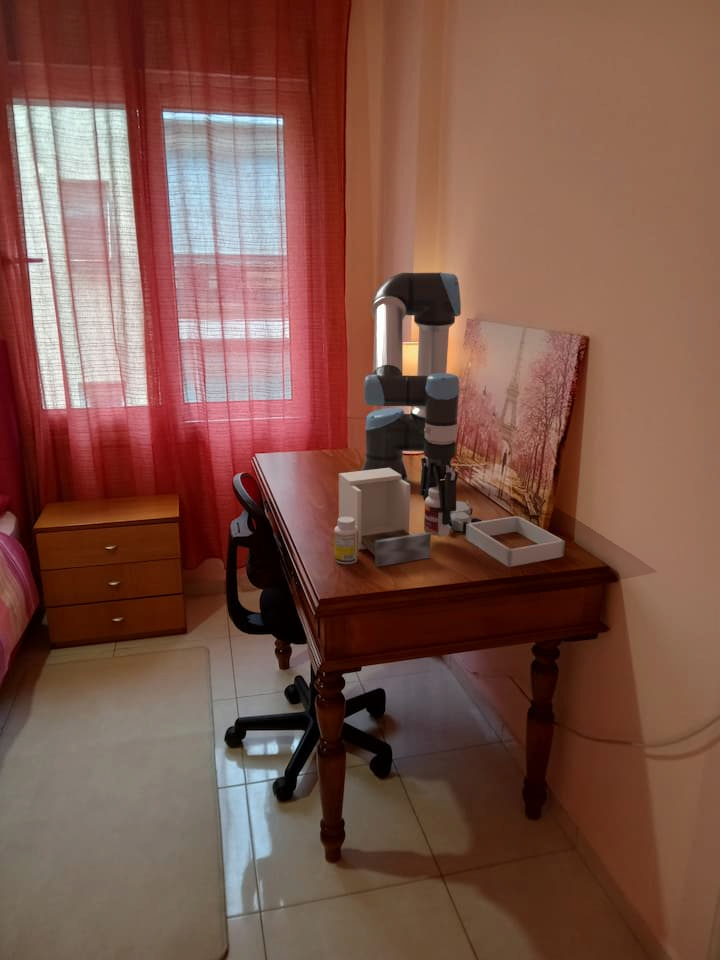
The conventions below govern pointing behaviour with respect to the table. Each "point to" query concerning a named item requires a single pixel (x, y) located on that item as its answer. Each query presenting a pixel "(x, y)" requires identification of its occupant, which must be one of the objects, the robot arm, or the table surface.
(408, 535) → the drawer
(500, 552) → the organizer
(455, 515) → the robot toy
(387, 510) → the caddy
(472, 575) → the table surface
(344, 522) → the supplement bottle
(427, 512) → the pill bottle
